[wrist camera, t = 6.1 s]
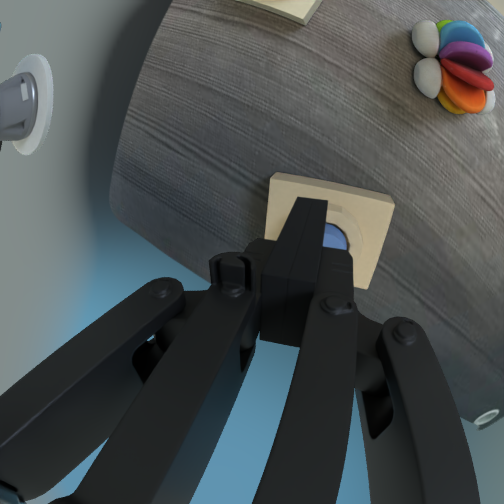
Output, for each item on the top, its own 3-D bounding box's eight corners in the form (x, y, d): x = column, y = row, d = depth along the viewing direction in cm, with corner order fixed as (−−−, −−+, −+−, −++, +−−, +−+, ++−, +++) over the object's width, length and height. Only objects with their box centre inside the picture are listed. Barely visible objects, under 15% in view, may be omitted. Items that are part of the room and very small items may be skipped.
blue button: (297, 259, 27) (293, 270, 25) (304, 218, 24) (301, 228, 23) (340, 268, 26) (339, 280, 24) (351, 228, 24) (351, 238, 22)
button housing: (267, 254, 32) (256, 275, 29) (276, 171, 27) (265, 183, 23) (366, 275, 30) (368, 300, 26) (390, 195, 25) (398, 211, 21)
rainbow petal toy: (409, 103, 19) (434, 102, 13) (406, 15, 14) (426, -9, 8) (480, 123, 17) (518, 133, 11) (478, 40, 12) (512, 28, 6)
